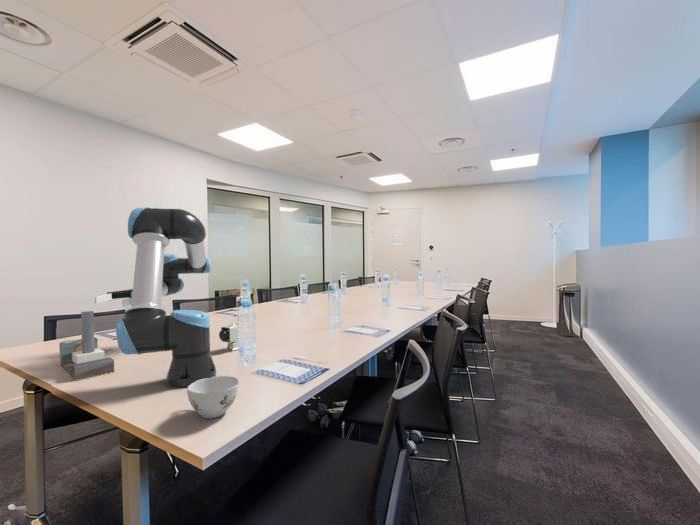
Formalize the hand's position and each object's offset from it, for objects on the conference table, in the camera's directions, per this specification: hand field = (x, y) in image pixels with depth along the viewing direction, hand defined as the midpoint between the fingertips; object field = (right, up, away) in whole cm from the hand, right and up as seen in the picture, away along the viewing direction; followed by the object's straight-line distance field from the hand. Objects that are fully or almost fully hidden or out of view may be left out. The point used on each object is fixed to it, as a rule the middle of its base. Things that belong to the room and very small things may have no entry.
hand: (109, 301), depth 127 cm
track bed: (-6, -25, -4) cm, 26 cm away
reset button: (-13, -21, +2) cm, 25 cm away
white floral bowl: (+58, -25, -41) cm, 75 cm away
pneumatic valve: (+42, -24, +19) cm, 52 cm away
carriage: (-3, -23, -6) cm, 24 cm away
